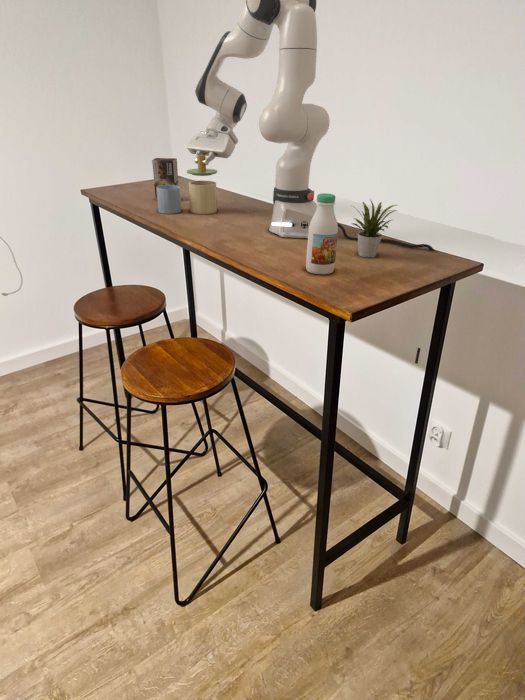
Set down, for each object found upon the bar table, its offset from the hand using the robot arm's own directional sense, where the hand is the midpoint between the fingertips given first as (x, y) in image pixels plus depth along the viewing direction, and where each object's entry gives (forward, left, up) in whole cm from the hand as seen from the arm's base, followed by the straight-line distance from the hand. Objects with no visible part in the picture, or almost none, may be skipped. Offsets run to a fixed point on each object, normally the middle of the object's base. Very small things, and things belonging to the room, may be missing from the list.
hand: (200, 163), depth 177 cm
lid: (0, -1, -3) cm, 3 cm away
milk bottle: (-54, +53, -18) cm, 78 cm away
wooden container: (0, -1, -18) cm, 18 cm away
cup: (+12, +4, -18) cm, 22 cm away
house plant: (-67, +35, -18) cm, 78 cm away
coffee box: (+22, -16, -18) cm, 32 cm away
